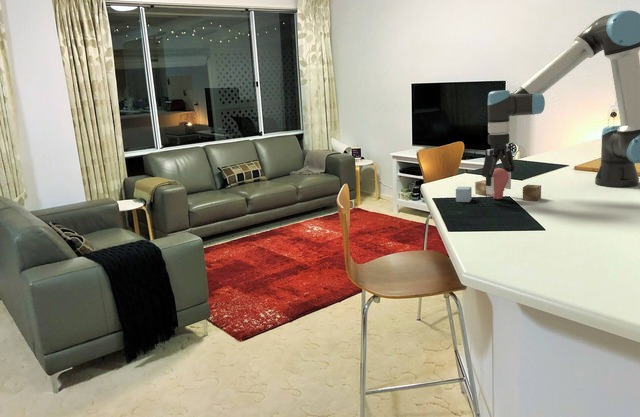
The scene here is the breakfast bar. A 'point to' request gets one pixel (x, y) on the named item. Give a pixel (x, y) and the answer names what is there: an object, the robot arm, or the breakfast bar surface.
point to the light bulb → (499, 182)
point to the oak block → (480, 187)
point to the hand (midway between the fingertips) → (498, 191)
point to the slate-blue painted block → (463, 194)
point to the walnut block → (532, 192)
